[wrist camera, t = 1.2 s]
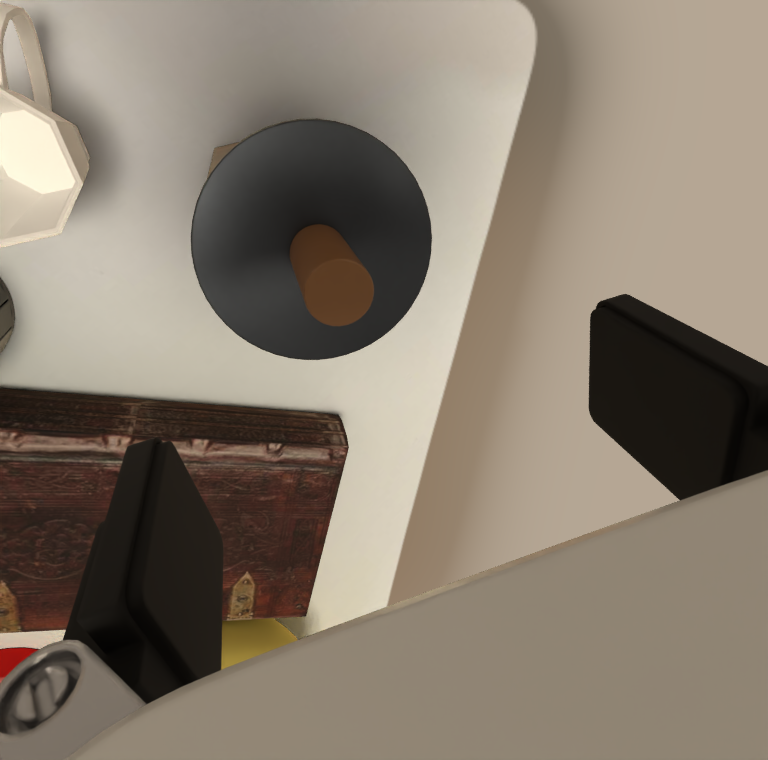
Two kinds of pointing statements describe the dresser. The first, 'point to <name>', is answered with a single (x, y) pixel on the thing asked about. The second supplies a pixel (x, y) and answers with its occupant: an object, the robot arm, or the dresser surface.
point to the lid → (311, 239)
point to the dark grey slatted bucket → (5, 316)
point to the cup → (35, 148)
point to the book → (209, 473)
